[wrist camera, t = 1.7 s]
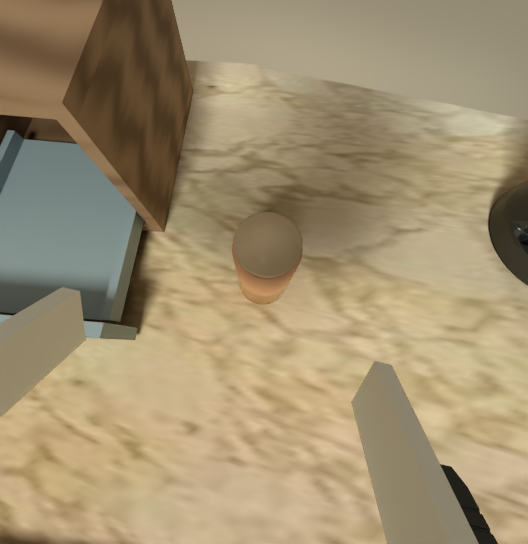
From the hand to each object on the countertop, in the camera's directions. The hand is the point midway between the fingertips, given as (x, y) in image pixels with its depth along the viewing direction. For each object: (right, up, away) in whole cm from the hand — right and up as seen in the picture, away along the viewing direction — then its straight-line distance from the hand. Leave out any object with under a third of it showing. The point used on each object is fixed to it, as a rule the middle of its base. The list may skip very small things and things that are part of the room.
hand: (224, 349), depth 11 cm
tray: (-20, +8, +17) cm, 27 cm away
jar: (+2, +2, +17) cm, 17 cm away
